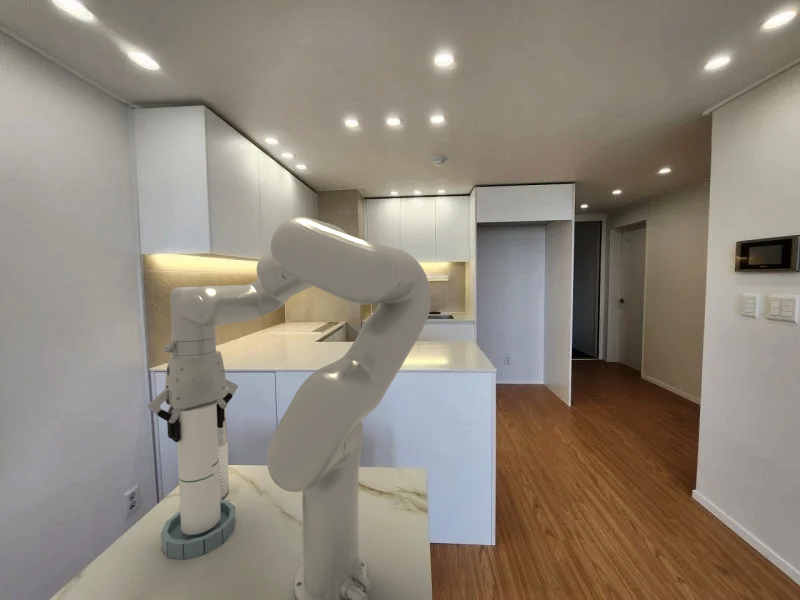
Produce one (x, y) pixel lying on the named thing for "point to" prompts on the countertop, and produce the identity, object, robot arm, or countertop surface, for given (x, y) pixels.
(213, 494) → the cylindrical container
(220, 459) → the water bottle
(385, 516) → the countertop surface
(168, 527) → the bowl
